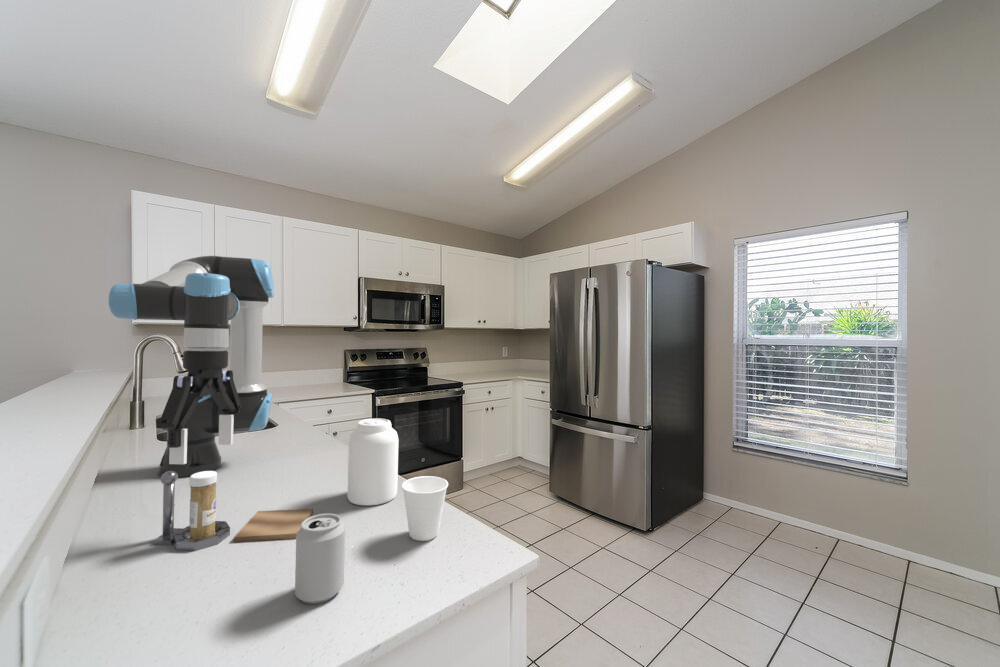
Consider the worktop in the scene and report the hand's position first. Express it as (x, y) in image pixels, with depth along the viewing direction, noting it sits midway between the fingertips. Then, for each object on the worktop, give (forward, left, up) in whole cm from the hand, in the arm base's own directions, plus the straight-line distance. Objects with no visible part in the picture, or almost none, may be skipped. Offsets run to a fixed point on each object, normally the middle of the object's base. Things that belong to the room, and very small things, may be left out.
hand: (203, 453), depth 84 cm
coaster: (-6, +12, -18) cm, 22 cm away
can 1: (+16, +31, -18) cm, 39 cm away
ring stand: (0, -2, -18) cm, 18 cm away
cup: (-4, +45, -18) cm, 48 cm away
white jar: (-23, +28, -18) cm, 40 cm away
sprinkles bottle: (0, 0, -18) cm, 18 cm away
